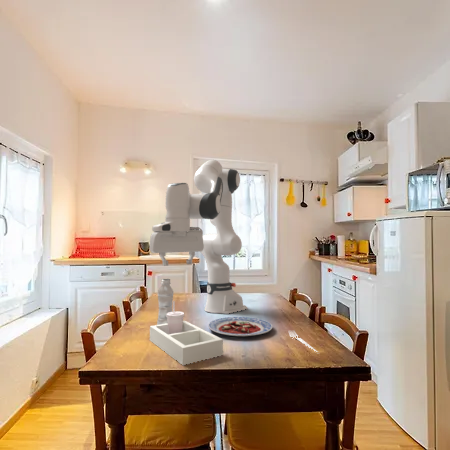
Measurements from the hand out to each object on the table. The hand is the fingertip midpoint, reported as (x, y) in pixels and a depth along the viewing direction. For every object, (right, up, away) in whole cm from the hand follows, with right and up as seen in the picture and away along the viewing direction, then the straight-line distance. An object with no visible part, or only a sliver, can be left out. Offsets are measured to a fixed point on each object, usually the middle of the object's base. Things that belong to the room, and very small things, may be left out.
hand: (177, 264), depth 113 cm
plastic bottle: (-7, -28, +13) cm, 31 cm away
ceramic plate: (+23, -28, +13) cm, 39 cm away
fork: (+45, -28, -2) cm, 53 cm away
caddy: (+3, -27, -7) cm, 28 cm away
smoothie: (-1, -27, -2) cm, 27 cm away
